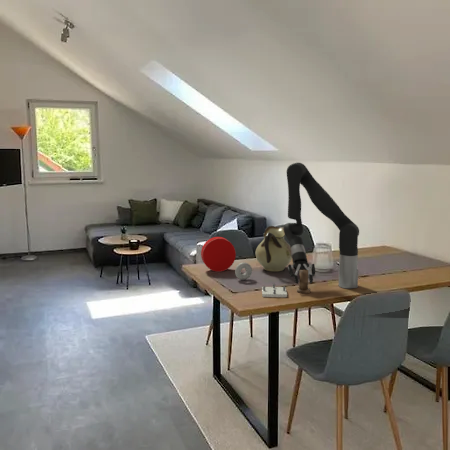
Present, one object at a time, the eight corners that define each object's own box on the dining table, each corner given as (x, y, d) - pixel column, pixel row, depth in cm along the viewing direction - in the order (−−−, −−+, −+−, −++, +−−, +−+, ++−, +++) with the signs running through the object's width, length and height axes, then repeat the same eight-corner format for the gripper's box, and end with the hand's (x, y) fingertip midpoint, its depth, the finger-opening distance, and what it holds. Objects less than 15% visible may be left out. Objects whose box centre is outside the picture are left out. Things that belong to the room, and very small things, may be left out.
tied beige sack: (283, 263, 297) (283, 224, 293) (300, 272, 275) (300, 230, 271) (250, 266, 290) (249, 226, 286) (264, 276, 268) (264, 233, 264)
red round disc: (233, 268, 286) (233, 235, 283) (235, 270, 280) (235, 237, 277) (201, 270, 282) (200, 237, 278) (202, 272, 276) (202, 239, 273)
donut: (250, 278, 264) (250, 260, 262) (253, 279, 260) (253, 262, 259) (234, 280, 260) (233, 262, 258) (236, 281, 257) (236, 264, 255)
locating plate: (285, 290, 241) (285, 283, 240) (286, 297, 229) (287, 290, 229) (262, 289, 242) (262, 283, 241) (262, 296, 230) (262, 290, 229)
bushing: (309, 289, 242) (310, 268, 240) (311, 293, 235) (311, 272, 233) (295, 289, 242) (296, 268, 240) (297, 293, 235) (297, 272, 233)
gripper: (286, 251, 242) (291, 279, 232) (313, 250, 243) (320, 278, 234) (284, 259, 248) (289, 287, 238) (310, 258, 249) (316, 286, 240)
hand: (304, 282), depth 236 cm, fingers open, 6 cm apart
